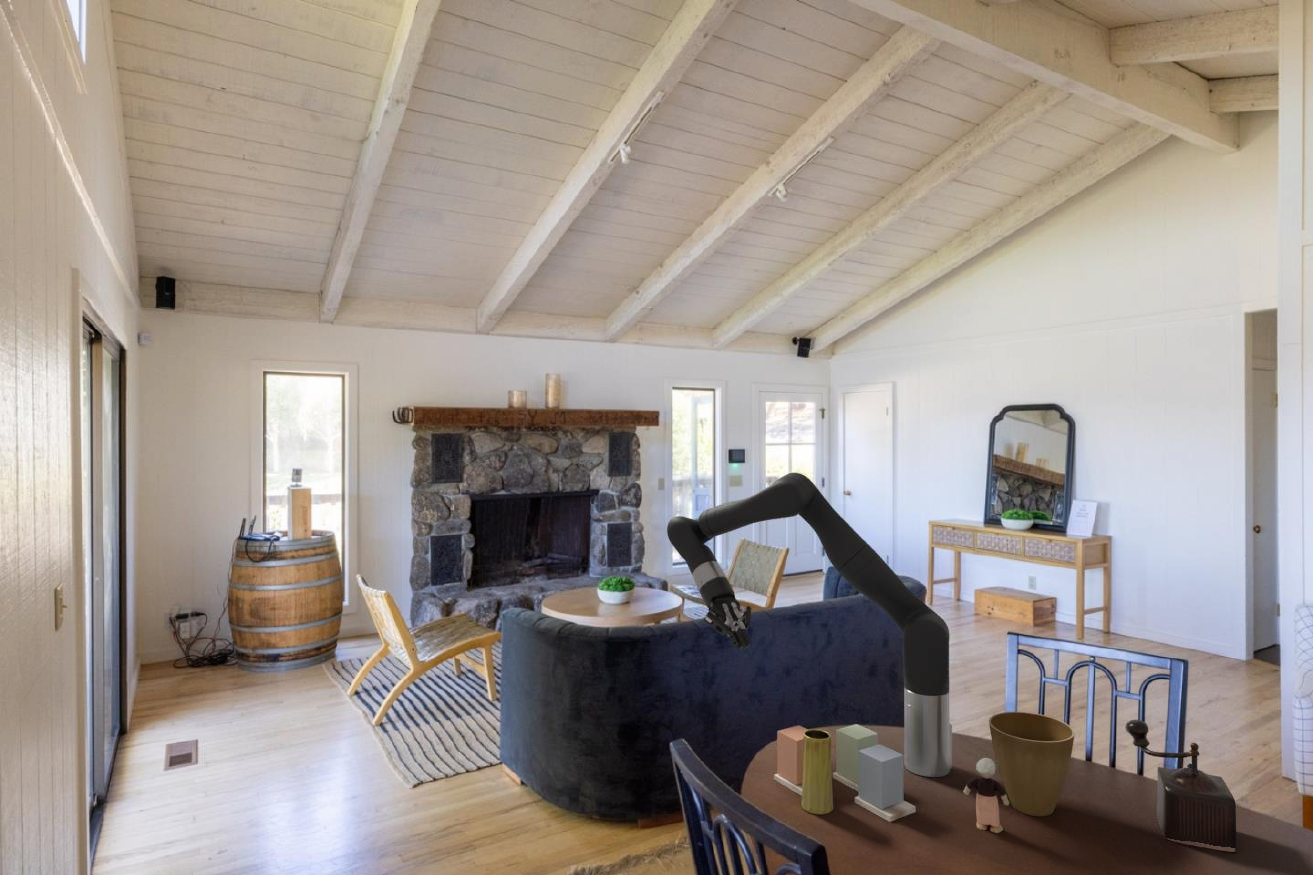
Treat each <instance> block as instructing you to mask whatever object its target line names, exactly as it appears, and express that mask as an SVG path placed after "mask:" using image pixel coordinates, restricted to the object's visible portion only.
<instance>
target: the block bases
mask: <svg viewBox="0 0 1313 875" xmlns="http://www.w3.org/2000/svg"><path fill="white" fill-rule="evenodd" d="M832 779H834V780H836V781H837V782H840V783H842V784H843V785H845V786H847V787H849V788H850V789H852V790H854V789H855V790H854V791H856V792H858V783H856V782H854V781H852V780H850V779H848V778H846V777H844V776H842V775H840V774H838V773H837V772H836V771H835V772H832ZM773 780H774V781H776V782H777V783H779V784H780V785H783V786H784V787H786V788H787V789H789V790H790V791H793V792H795V793H796V794H798V795H799V796H801V797H802V784H803V783H802V784H799V785H796V784H794V783H792V782H791V781H789V780H787V779H785V778H784V777H782V776H780V775H779V774H777V773H775V774H773ZM854 803H855V804H857V805H859V807H862V808H864V809H866V810H868V811H869V812H871V813H873V814H874V815H877V816H879V817H880V818H881V819H883V820H886V821H887V822H889V823H891V822H893V821H896V820H898V819H901V818H903V817H907V816H909V815H911V814H914V813H916V810H917V808H916V806H915V805H913V804H911V803H910V802H907V801H906V800H904V801H903V802H900V803H897V804H895V805H892V806H889V807H887V808H884V809H881V808H879V807H877V806H875V805H873V804H871V803H870V802H868V801H866V800H864V799H862V798H860V797H858V795H857V796H855V797H854Z"/></svg>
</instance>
